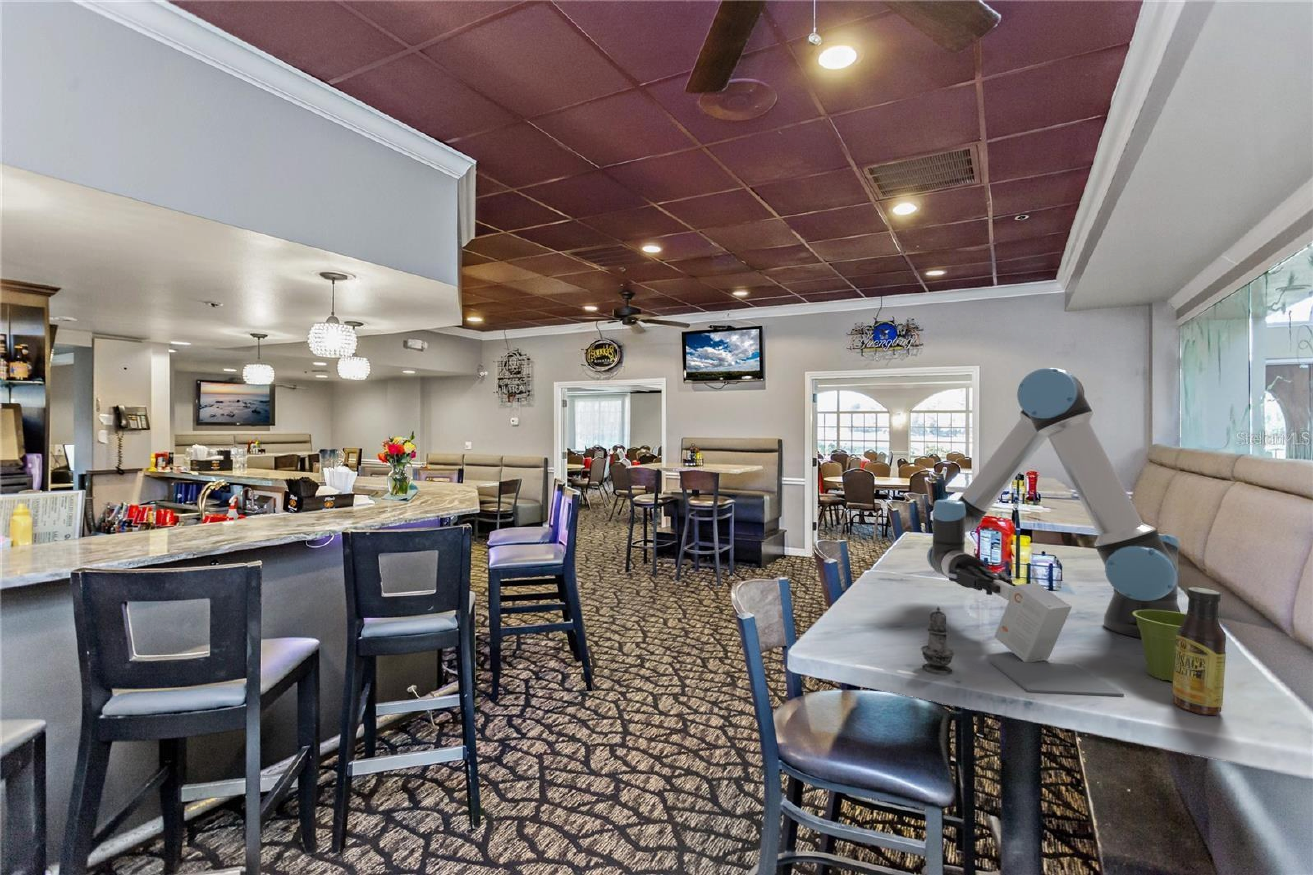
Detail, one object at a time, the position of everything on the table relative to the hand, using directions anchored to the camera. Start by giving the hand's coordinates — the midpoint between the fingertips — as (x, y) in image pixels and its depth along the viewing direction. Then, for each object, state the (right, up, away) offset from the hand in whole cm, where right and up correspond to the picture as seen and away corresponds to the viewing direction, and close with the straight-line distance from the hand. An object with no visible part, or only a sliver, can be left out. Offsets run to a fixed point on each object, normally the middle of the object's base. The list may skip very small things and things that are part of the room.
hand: (1011, 594), depth 125 cm
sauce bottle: (+17, -13, -24) cm, 32 cm away
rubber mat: (+1, -13, -12) cm, 17 cm away
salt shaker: (-19, -12, -8) cm, 24 cm away
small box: (+2, -11, 0) cm, 11 cm away
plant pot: (+24, -13, -11) cm, 29 cm away
